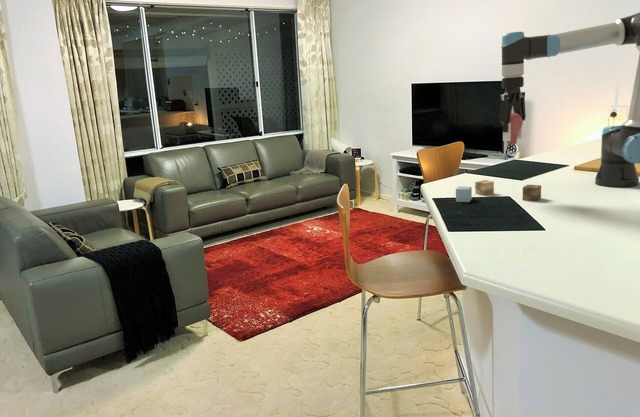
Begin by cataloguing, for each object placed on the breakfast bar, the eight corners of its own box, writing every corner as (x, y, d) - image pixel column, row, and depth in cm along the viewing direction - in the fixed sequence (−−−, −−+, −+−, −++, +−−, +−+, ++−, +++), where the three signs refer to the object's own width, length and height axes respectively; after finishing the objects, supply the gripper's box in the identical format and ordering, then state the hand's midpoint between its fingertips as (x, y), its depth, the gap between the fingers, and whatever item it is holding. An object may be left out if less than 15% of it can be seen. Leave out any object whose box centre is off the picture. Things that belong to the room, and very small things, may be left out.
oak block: (493, 193, 204) (493, 181, 203) (484, 195, 202) (484, 183, 201) (484, 192, 209) (484, 180, 207) (475, 193, 207) (475, 181, 205)
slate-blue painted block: (471, 199, 198) (471, 186, 197) (469, 202, 194) (469, 189, 192) (458, 199, 200) (458, 186, 199) (455, 202, 196) (455, 189, 195)
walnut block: (540, 198, 190) (541, 185, 189) (536, 201, 187) (536, 188, 186) (527, 197, 194) (527, 184, 192) (522, 200, 190) (522, 187, 189)
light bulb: (523, 143, 193) (523, 111, 191) (521, 146, 187) (522, 113, 184) (503, 144, 196) (503, 112, 194) (501, 146, 190) (501, 114, 187)
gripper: (517, 76, 195) (517, 136, 200) (488, 79, 183) (488, 142, 188) (536, 74, 189) (535, 136, 194) (507, 77, 177) (507, 143, 182)
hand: (512, 139), depth 191 cm, fingers closed on light bulb, 7 cm apart
